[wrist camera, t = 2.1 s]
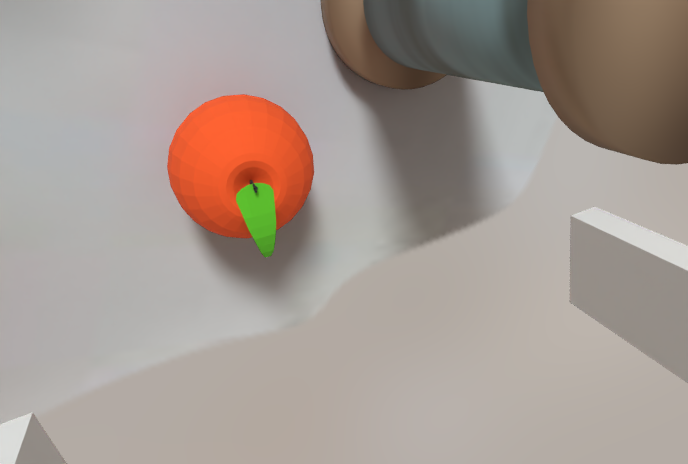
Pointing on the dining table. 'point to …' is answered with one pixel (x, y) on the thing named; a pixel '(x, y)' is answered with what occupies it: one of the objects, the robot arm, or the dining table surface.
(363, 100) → the dining table surface
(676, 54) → the bobbin
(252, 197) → the clementine
